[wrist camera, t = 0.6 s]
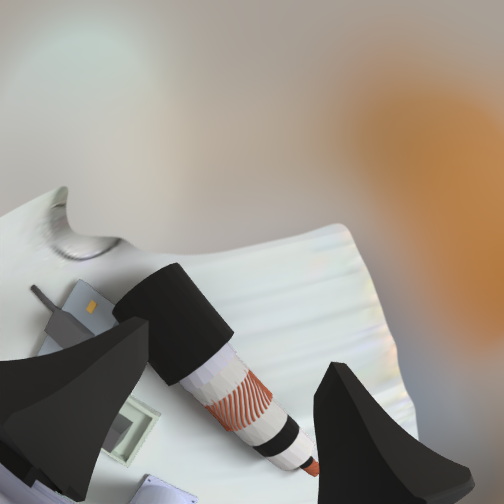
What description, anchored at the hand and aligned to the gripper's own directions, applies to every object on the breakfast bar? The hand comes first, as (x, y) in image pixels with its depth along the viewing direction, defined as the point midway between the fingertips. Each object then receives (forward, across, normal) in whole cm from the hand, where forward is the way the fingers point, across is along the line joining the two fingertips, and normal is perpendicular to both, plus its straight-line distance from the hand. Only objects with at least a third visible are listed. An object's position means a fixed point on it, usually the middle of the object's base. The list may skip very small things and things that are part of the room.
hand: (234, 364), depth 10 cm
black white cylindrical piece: (+18, -1, +21) cm, 28 cm away
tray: (+11, +14, +27) cm, 32 cm away
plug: (+11, +14, +27) cm, 32 cm away
